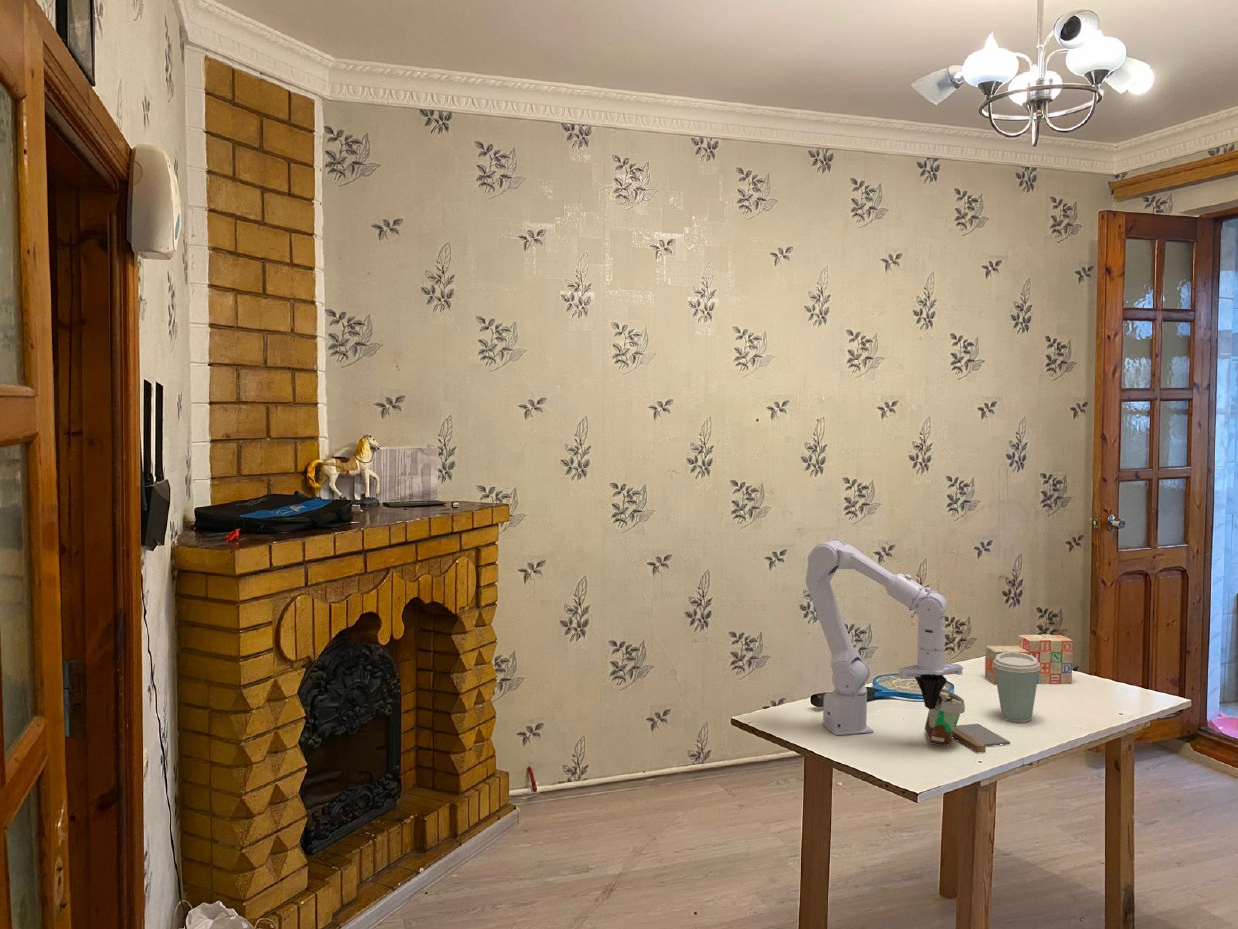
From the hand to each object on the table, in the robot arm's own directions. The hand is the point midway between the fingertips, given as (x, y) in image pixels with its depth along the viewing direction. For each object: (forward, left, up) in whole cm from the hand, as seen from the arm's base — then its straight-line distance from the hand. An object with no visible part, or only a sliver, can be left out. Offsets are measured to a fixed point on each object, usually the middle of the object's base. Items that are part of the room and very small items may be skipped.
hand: (929, 707), depth 203 cm
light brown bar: (+8, 0, -8) cm, 11 cm away
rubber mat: (+13, +1, -8) cm, 15 cm away
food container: (+3, 0, -8) cm, 8 cm away
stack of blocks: (+51, +36, -8) cm, 63 cm away
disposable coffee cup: (+29, +10, -8) cm, 32 cm away
